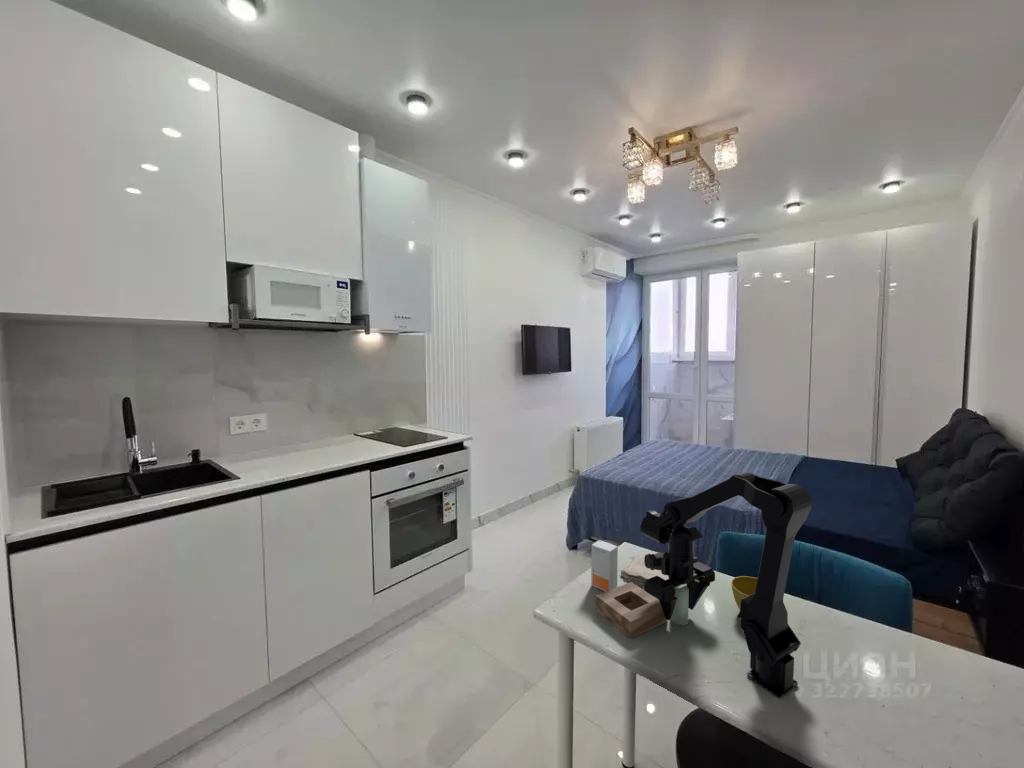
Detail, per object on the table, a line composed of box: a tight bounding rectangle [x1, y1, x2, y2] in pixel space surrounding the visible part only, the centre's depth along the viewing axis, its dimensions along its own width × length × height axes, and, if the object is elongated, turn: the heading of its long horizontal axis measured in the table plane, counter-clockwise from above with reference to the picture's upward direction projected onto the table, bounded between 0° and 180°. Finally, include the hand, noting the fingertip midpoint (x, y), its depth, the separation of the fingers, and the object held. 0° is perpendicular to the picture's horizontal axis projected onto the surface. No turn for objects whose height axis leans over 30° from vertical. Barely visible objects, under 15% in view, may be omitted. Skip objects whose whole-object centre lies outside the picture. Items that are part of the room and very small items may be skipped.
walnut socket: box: [595, 581, 668, 639], centre depth 105 cm, size 12×12×4 cm
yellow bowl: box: [730, 575, 758, 611], centre depth 104 cm, size 10×10×7 cm
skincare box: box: [590, 539, 619, 592], centre depth 117 cm, size 6×4×12 cm
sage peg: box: [670, 585, 689, 626], centre depth 103 cm, size 4×4×8 cm
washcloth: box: [620, 555, 687, 586], centre depth 122 cm, size 12×18×3 cm, turn 54°
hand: (679, 614), depth 102 cm, fingers open, 8 cm apart
